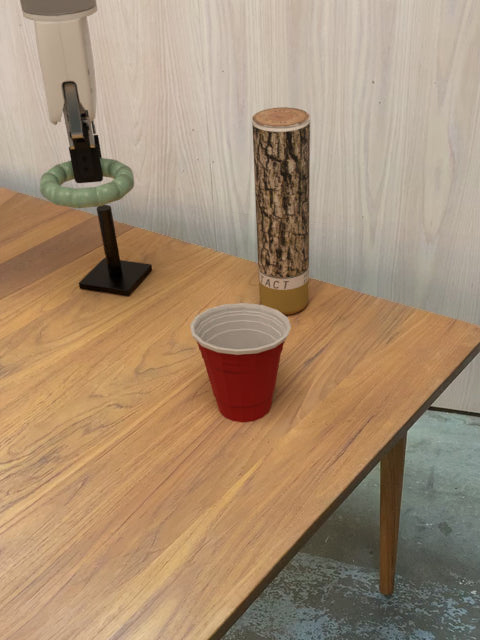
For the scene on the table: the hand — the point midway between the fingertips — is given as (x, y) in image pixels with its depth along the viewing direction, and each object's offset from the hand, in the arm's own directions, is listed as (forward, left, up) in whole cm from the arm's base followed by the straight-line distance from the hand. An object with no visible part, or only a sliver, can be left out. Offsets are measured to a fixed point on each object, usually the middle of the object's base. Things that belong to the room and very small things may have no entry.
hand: (89, 174), depth 91 cm
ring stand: (-6, +12, -21) cm, 25 cm away
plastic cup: (+23, -12, -21) cm, 33 cm away
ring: (+2, -4, +1) cm, 4 cm away
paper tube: (+20, +12, -21) cm, 31 cm away
